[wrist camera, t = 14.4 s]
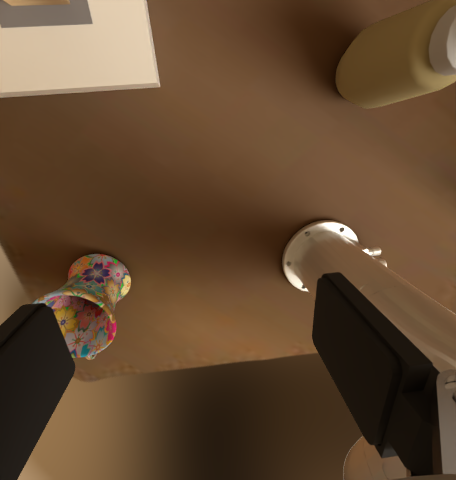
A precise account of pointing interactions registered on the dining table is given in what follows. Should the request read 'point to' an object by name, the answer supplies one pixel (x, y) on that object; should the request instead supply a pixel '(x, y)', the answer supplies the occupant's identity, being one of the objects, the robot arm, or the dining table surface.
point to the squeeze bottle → (401, 56)
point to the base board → (76, 48)
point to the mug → (89, 303)
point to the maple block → (36, 2)
